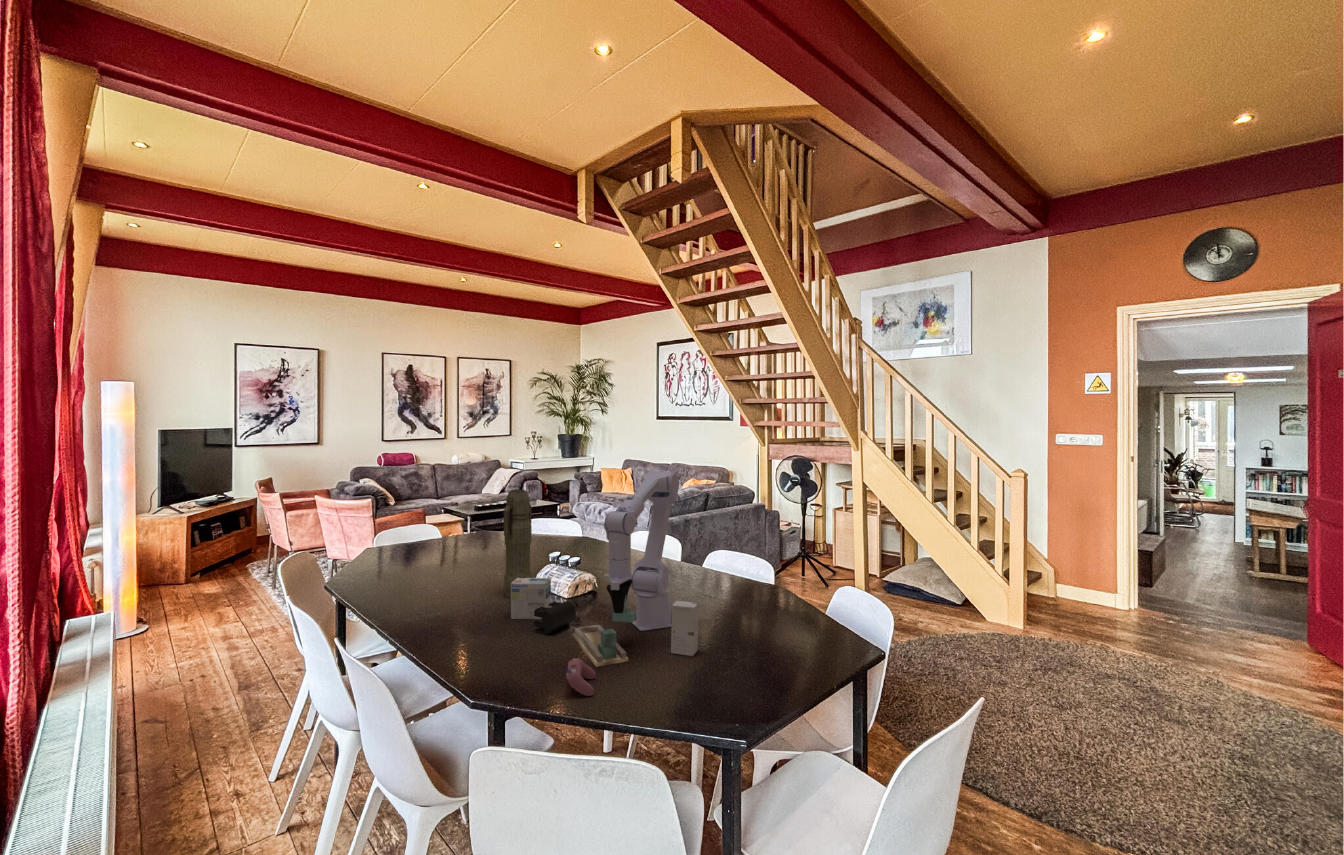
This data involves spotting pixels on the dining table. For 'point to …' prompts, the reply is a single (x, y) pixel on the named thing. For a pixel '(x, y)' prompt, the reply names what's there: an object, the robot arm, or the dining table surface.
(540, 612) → the black lumpy piece
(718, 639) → the dining table surface
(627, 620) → the teal l-shaped block
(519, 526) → the thermos
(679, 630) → the skincare box
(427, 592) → the dining table surface
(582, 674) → the maroon curved piece
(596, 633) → the wooden tray
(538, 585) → the light bulb box
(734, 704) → the dining table surface
